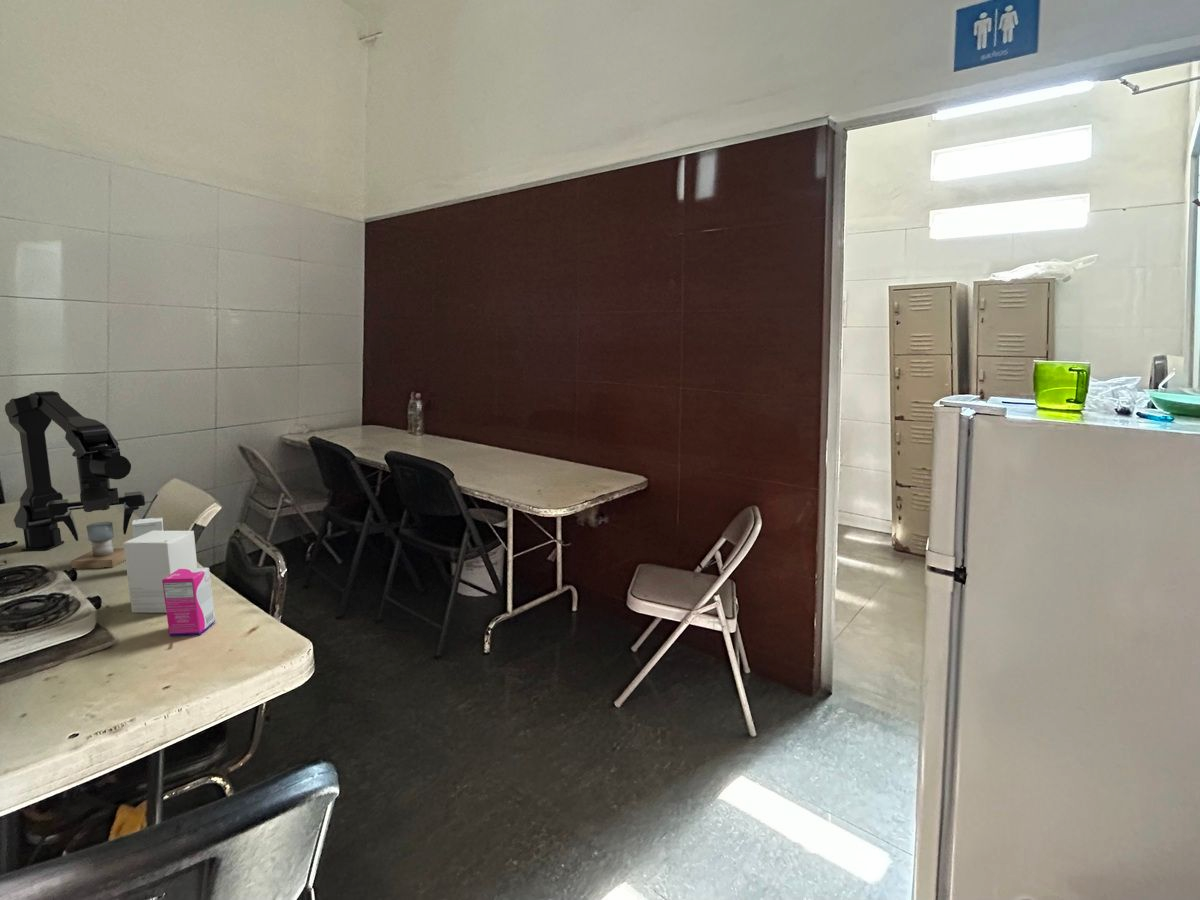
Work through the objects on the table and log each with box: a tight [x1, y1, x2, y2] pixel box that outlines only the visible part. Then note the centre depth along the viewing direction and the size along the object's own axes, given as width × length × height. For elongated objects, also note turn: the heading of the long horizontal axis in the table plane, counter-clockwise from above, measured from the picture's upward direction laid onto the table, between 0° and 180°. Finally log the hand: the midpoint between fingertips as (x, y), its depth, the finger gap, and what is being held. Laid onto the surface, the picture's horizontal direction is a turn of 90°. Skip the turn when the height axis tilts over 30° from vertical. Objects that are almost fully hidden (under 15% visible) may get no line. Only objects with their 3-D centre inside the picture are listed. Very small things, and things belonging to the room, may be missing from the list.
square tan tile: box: [70, 538, 126, 570], centre depth 155 cm, size 9×9×6 cm
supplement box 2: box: [162, 567, 216, 637], centre depth 119 cm, size 6×6×12 cm
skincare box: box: [131, 516, 164, 539], centre depth 151 cm, size 6×4×12 cm
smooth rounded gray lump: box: [86, 521, 115, 542], centre depth 154 cm, size 5×5×4 cm
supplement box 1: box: [122, 530, 198, 614], centre depth 130 cm, size 9×9×15 cm
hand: (101, 537), depth 155 cm, fingers open, 9 cm apart
